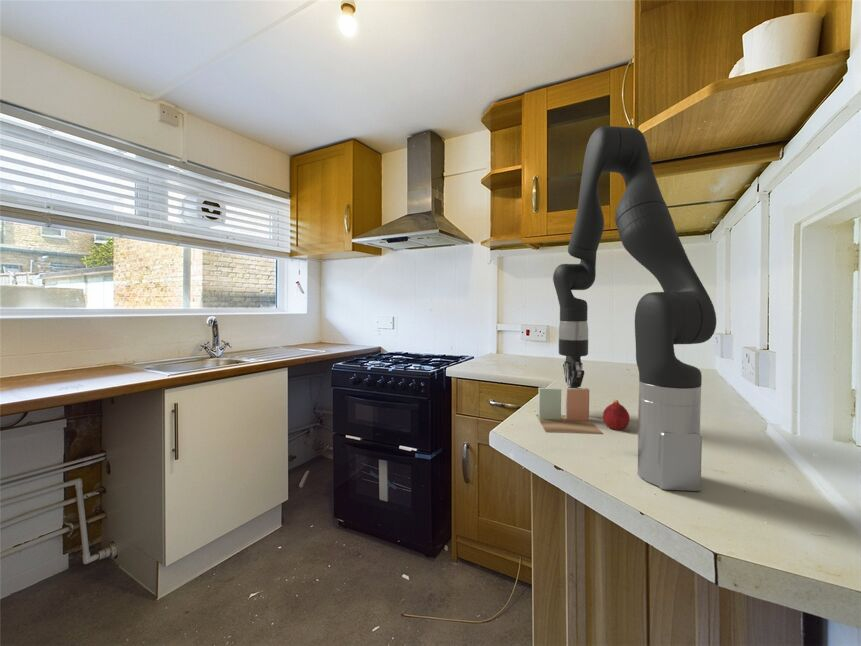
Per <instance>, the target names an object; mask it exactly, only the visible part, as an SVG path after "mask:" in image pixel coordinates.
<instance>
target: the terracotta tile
mask: <svg viewBox="0 0 861 646" xmlns="http://www.w3.org/2000/svg"><path fill="white" fill-rule="evenodd" d="M565 415H566V419H567V420H590V389H589V388H588V387H585V388H584V387H582V388H581V387H579V388H568V387H566V388H565Z"/></svg>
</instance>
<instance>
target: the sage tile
mask: <svg viewBox="0 0 861 646" xmlns="http://www.w3.org/2000/svg"><path fill="white" fill-rule="evenodd" d="M537 402H538V403H537V404H538V408H537V409H538V410H537V411H538V414H537V415H538V417H539V419H561V415H562V388H561V387H538V401H537ZM538 417H537V418H538ZM539 419H538V420H539Z"/></svg>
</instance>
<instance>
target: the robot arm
mask: <svg viewBox="0 0 861 646" xmlns="http://www.w3.org/2000/svg"><path fill="white" fill-rule="evenodd" d="M602 173H618V174H620V175H621V177H622V178H623V181H624V184H625V191H624V192H623V194H622V195H621V196H622V197H621V199H620V200H619V202H618V205H617V207H616V209H615V214H614V222H615V226H616V229H617V232H618V235H619V239H620V241H621V244H622V246H623V248H624V249H625V250H626V251H627V253H629V255H630V256H631V257H632V258H633V259H635V260H636V261H637V262H638V264H640V265H642V267H644V268H645V269H646V270H647V271H648V272H650V274H652V275H653V276H654V278H655V279H656V280H657V281H658V283H659V284H660V287H661V288H662V290H663V291H655V292H652V291H651V292H648V293H645V294H644V295H643V296H642V297H641V298H640V299H639V301H638V302H637V305H636V308H635V313H634V337H635V362H636V367H637V368H638V369H637V370H638V410H637V411H638V417H637V418H638V419H637V421H638V422H637V475H638V476H639V477H640V478H641V479H643V480H644V481H646V482H648V483H649V484H652V485H655V486H657V487H659V488H660V489H661V490H667V491H668V490H671V491H691V492H701V491H702V490H701V489H702V487H701V486H702V484H701V483H702V455H703V453H702V451H703V435H701V404H702V383H703V381H702V380H703V378H702V371H701V370H700V368H698V367H697V366H693V365H690V364H689V363H688V364H687V363H685V362H683V361H681V360H680V359H679V358H677V356H676V354H675V347H674V345H694V344H696V345H698V344H703V343H705V342H707V341H709V340H710V339H711V338H712V337H713V335H714V334H715V331H716V328H717V314H716V310H715V307H714V304H713V302H712V299H711V297H710V295H709V294H708V291H707V289H706V288H705V286H704V285H703V282H702V281H701V280H700V277H699V276H698V274H697V273H696V271H695V269H694V267H693V265H692V263H691V261H690V259H689V257H688V255H687V253H686V250H685V249H684V246H683V244H682V242H681V239H680V237H679V235H678V232H677V230H676V227H675V224H674V220H673V218H672V216H671V212H670V211H669V208H668V206H667V204H666V202H665V199H664V197H663V194H662V192H661V189H660V187H659V184H658V181H657V178H656V175H655V172H654V168H653V165H652V161H651V156H650V151H649V147H648V144H647V141H646V138H645V136H644V134H643V132H642V131H641V130H640V129H637V128H635V127H627V126H614V125H602V126H598V127H597V128H596V129H595V130H594V131H593V132H592V133H591V135H590V137H589V139H588V141H587V145H586V148H585V152H584V160H583V166H582V173H581V179H580V187H579V195H578V205H577V209H576V215H575V216H576V217H575V220H574V225H573V228H572V233H571V236H570V239H569V243H568V247H567V252H568V254H569V256H571V257H573V258H575V259H579V260H580V262H579V263H561V264H559V265H557V267H555V269H554V271H553V276H552V282H553V285H554V288H555V292H556V293H555V294H556V296H557V300H558V304H559V305H558V306H559V325H558V355H560V356H562V357H563V356H564V357H565V360H564V362H563V365H562V367H563V374H564V379H565V383H566V386H567V388H581V387H582V383H583V379H584V376H585V370H584V369H583V362H582V359H581V357H587V356H588V355H589V324H588V308H589V307H588V303H587V301H586V299H585V300H584V299H582V298H577V297H576V296H575V295H574V294H573V292H572V291H585V290H588V289H591V287H592V286H593V285H594V283H595V280H596V276H597V275H596V272H597V271H596V270H597V267H596V265H597V263H596V262H597V252H598V249H599V246H600V242H601V239H602V236H603V233H604V229H605V218H604V212H603V209H602V205H601V202H600V198H599V197H600V196H599V183H600V178H601V175H602Z"/></svg>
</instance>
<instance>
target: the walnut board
mask: <svg viewBox="0 0 861 646" xmlns="http://www.w3.org/2000/svg"><path fill="white" fill-rule="evenodd" d="M535 415H536V417H537V419H538V421H539V423H540V425H541V426H542V428H543V430H544V432H545V433H551V434H553V433H554V434H557V433H558V434H584V435H585V434H586V435H604V433H603V432H602V430H601V429H599V428H598V427H597V426H596V425H595V423H594V422H592V421H591V420H590V419H589V420H567V419H566V414H563V415H562V414H561V419H539V417H538V414H535Z"/></svg>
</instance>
